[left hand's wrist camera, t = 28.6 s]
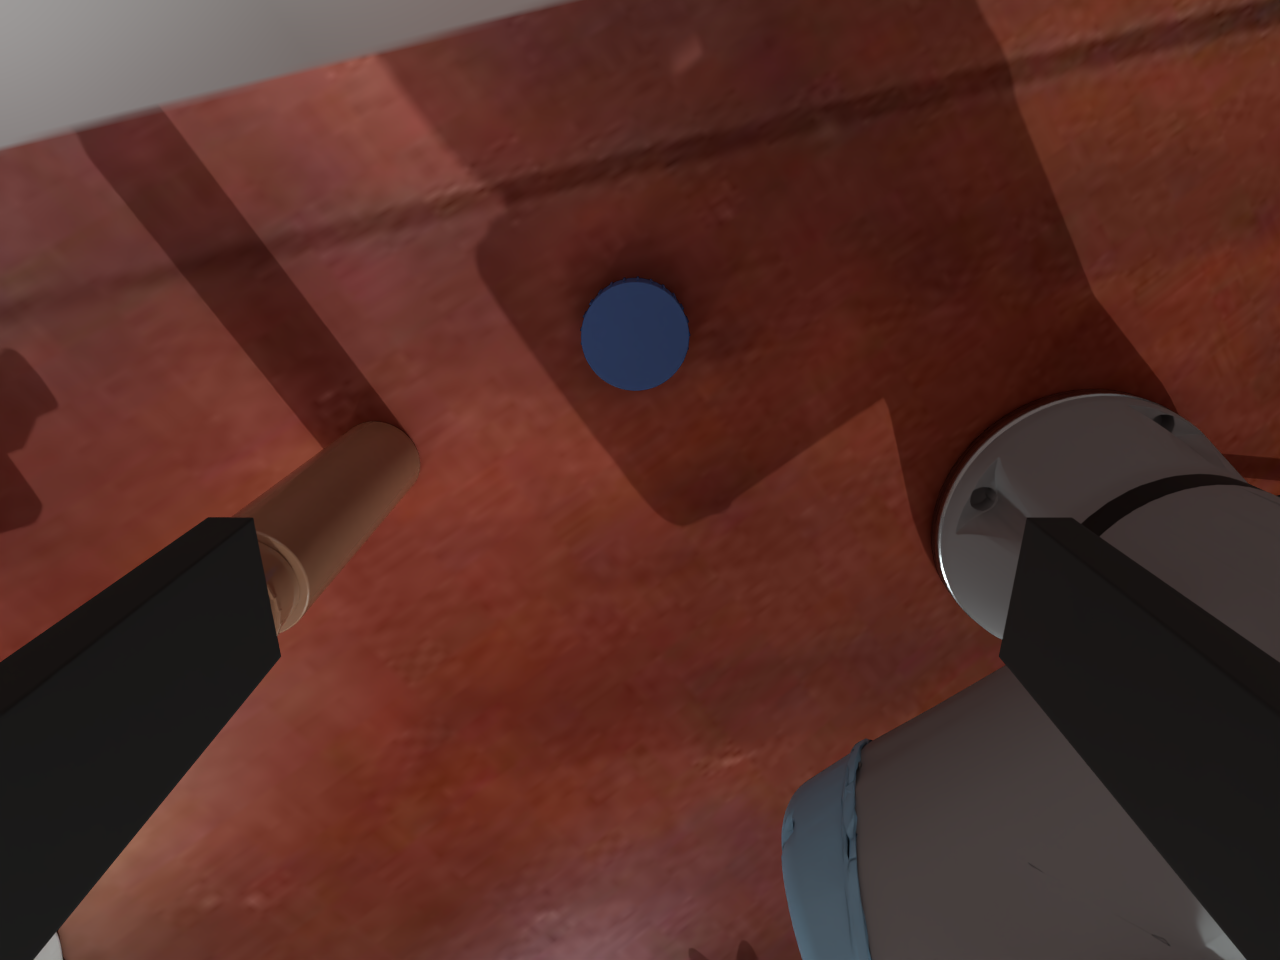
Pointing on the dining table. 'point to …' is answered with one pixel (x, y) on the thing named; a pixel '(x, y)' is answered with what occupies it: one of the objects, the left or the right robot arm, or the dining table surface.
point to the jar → (328, 513)
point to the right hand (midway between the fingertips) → (43, 655)
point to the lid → (635, 334)
